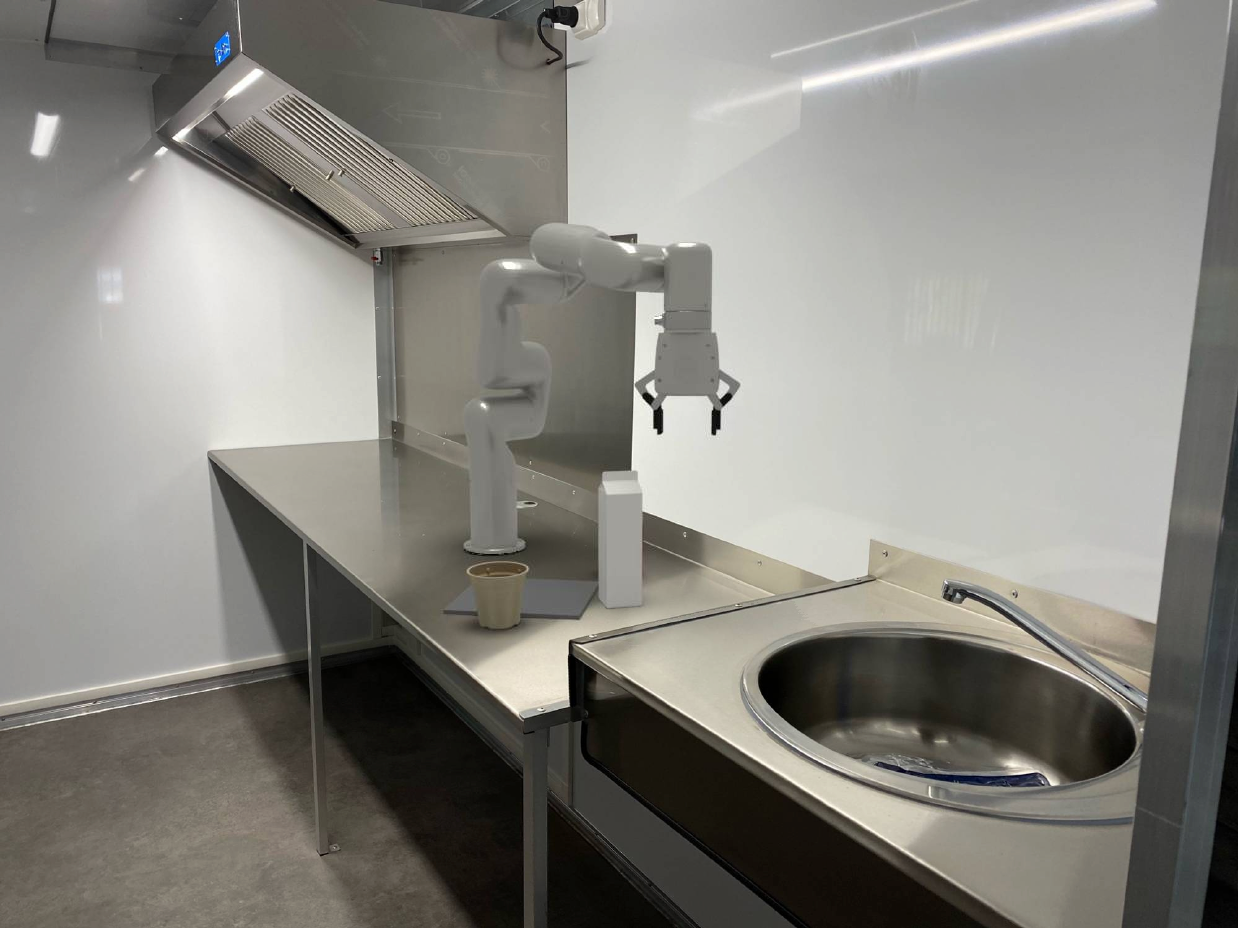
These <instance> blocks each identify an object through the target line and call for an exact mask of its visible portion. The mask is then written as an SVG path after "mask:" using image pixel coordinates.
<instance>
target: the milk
mask: <svg viewBox="0 0 1238 928" xmlns="http://www.w3.org/2000/svg"><path fill="white" fill-rule="evenodd" d="M638 475H639V474H638V470H617V471H615V470H612V471H603V472H602V474H601V482H600V484H599V486H598V489H597V490H598V491H597V497H598V498H597V501H598V502H597V505H598V506H597V507H598V508H597V509H598V510H597V512H598V519H597V521H598V522H597V523H598V524H597V525H598V528H597V529H598V532H597V533H598V534H597V535H598V536H597V540H598V541H597V542H598V543H597V545H598V562H597V563H598V581H599V587H598V599H599V600H600V602H601V603H602V604H603V606H604V607H605V608H607V609H620V608H630V607H631V608H632V607H633V608H635V607H642V606H643V573H642V516H643V490H642V487H641V486H640V482H639V478H638V477H639V476H638Z"/></svg>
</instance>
